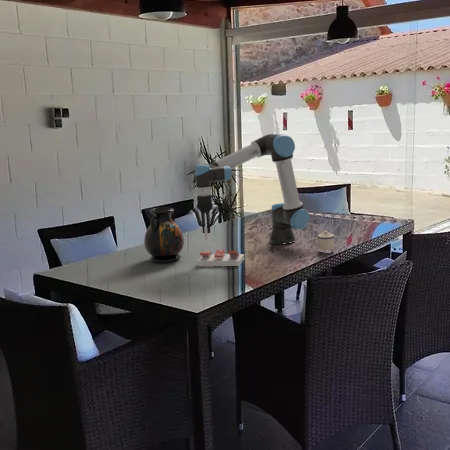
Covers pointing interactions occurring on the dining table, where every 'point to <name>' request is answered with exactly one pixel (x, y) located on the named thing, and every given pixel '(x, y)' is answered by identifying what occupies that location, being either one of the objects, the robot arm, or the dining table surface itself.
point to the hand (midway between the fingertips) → (207, 239)
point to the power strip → (220, 261)
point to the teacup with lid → (325, 241)
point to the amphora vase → (163, 237)
